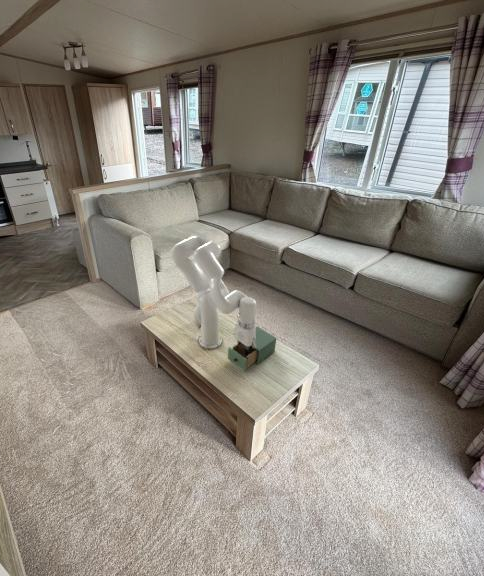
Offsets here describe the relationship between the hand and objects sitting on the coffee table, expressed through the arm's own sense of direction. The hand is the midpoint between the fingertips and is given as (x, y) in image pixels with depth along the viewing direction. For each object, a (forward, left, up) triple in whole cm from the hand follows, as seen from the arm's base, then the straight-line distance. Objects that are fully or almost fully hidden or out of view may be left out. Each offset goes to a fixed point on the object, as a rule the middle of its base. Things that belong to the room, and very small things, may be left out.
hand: (243, 350), depth 149 cm
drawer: (0, 0, -6) cm, 6 cm away
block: (0, 0, 0) cm, 0 cm away
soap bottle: (-37, +7, -7) cm, 38 cm away
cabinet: (0, +10, -7) cm, 12 cm away
